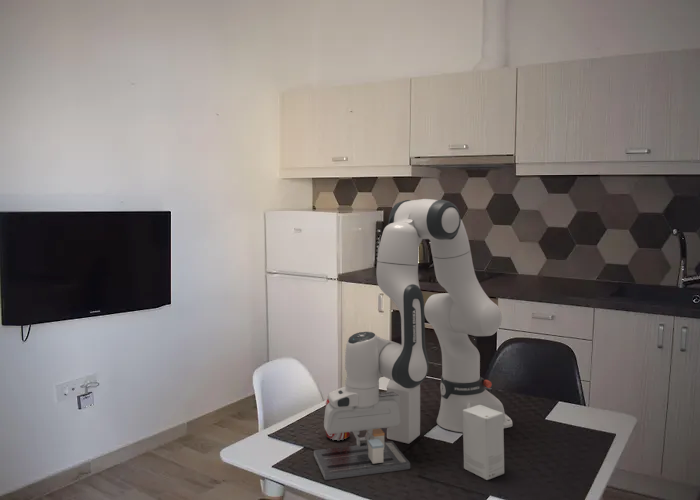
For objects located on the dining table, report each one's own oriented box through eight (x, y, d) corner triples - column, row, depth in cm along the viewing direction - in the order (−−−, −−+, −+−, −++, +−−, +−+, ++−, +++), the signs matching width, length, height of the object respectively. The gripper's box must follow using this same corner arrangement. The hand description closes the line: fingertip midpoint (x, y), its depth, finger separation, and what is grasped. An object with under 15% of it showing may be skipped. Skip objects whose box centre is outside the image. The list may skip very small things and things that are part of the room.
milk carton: (409, 444, 163) (409, 377, 161) (386, 439, 167) (386, 373, 165) (420, 435, 169) (420, 370, 167) (398, 430, 173) (398, 367, 171)
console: (392, 446, 162) (392, 440, 162) (410, 469, 148) (410, 463, 148) (313, 455, 156) (313, 450, 156) (324, 480, 143) (324, 474, 143)
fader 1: (379, 443, 159) (379, 427, 159) (384, 449, 155) (384, 433, 155) (369, 444, 158) (369, 428, 158) (374, 451, 154) (374, 434, 154)
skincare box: (504, 474, 145) (505, 413, 144) (485, 481, 141) (486, 419, 140) (480, 461, 152) (480, 403, 151) (461, 468, 148) (461, 408, 147)
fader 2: (378, 455, 152) (378, 438, 151) (383, 462, 148) (383, 445, 147) (368, 456, 151) (367, 439, 151) (372, 463, 147) (372, 446, 147)
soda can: (347, 443, 164) (347, 401, 163) (323, 441, 165) (322, 400, 164) (352, 433, 171) (352, 393, 170) (329, 431, 172) (328, 391, 171)
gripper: (395, 387, 160) (395, 436, 161) (322, 394, 155) (322, 444, 156) (403, 394, 154) (403, 445, 155) (327, 402, 149) (328, 454, 150)
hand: (362, 445), depth 156 cm, fingers closed
